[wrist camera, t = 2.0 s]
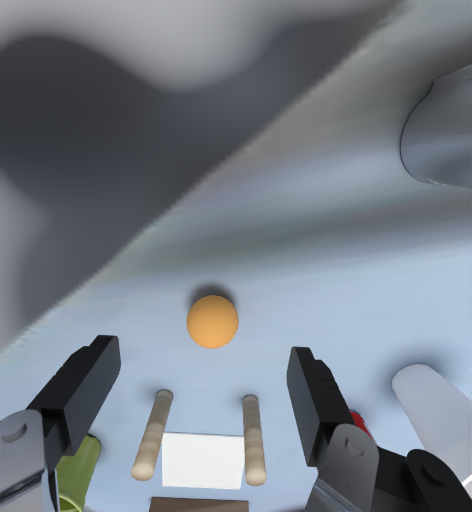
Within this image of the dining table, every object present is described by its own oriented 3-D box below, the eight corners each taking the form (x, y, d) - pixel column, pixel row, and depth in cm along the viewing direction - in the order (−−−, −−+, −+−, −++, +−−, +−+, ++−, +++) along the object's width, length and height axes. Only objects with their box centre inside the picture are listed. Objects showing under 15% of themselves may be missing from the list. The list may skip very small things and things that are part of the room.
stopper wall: (152, 497, 46) (148, 515, 44) (248, 501, 47) (248, 519, 44) (152, 503, 47) (148, 521, 44) (247, 507, 47) (247, 525, 45)
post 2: (243, 394, 37) (246, 472, 28) (259, 395, 37) (267, 473, 28) (241, 405, 38) (244, 485, 28) (257, 406, 38) (265, 486, 29)
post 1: (156, 389, 36) (130, 467, 27) (173, 390, 37) (152, 468, 27) (157, 400, 37) (131, 480, 28) (173, 401, 37) (152, 481, 28)
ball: (191, 284, 30) (182, 311, 25) (240, 288, 31) (241, 316, 25) (190, 324, 33) (181, 358, 27) (235, 328, 33) (236, 362, 27)
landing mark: (162, 431, 40) (161, 433, 40) (248, 436, 40) (248, 437, 40) (162, 484, 45) (162, 485, 44) (239, 488, 45) (239, 489, 45)
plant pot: (101, 421, 39) (66, 489, 31) (119, 459, 42) (91, 530, 34) (44, 427, 39) (-6, 496, 31) (66, 464, 42) (26, 535, 34)
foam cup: (372, 371, 36) (444, 479, 24) (436, 345, 34) (548, 445, 22) (392, 411, 39) (466, 525, 26) (452, 389, 37) (559, 499, 25)
